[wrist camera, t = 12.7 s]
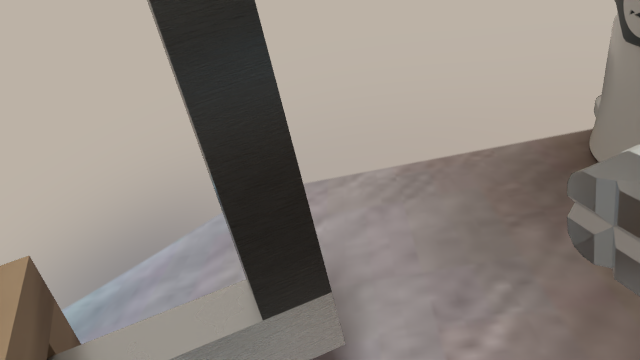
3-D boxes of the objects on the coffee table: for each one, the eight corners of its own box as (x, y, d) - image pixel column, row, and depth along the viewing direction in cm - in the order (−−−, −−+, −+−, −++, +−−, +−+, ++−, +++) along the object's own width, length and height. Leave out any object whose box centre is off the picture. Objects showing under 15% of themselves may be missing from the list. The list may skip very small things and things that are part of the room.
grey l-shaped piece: (322, 303, 27) (216, -75, 19) (345, 344, 24) (234, -75, 16) (-25, 447, 24) (-334, 67, 15) (-41, 512, 21) (-423, 95, 13)
